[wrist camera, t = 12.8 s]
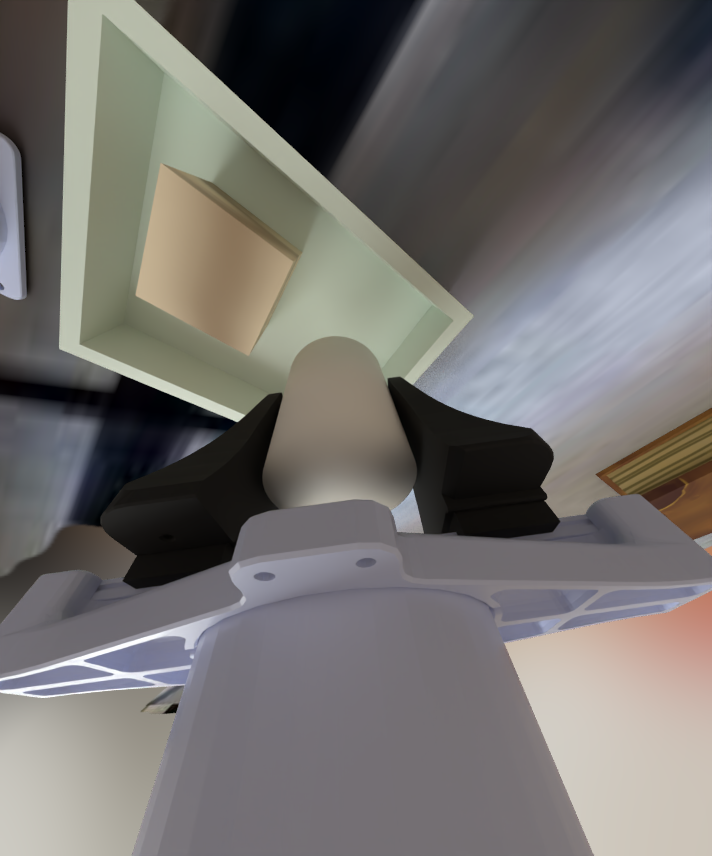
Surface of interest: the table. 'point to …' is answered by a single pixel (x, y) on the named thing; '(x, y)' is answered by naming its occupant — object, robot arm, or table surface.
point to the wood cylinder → (337, 432)
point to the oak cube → (212, 261)
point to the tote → (248, 185)
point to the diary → (672, 475)
